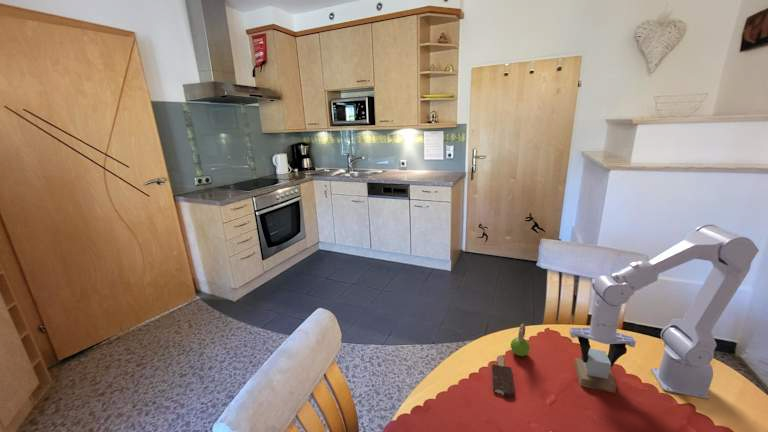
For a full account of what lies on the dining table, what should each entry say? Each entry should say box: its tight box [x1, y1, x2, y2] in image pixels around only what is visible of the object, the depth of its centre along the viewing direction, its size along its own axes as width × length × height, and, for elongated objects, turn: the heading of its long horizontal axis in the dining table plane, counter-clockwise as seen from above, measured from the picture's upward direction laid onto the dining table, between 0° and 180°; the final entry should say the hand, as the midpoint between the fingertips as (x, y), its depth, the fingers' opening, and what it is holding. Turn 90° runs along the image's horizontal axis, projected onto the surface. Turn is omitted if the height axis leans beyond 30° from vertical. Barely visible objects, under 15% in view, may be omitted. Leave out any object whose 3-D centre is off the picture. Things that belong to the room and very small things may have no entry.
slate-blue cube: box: [582, 348, 612, 379], centre depth 88 cm, size 5×5×5 cm
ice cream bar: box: [491, 355, 515, 399], centre depth 91 cm, size 5×2×15 cm
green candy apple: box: [510, 323, 531, 357], centre depth 97 cm, size 5×6×12 cm
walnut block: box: [574, 357, 617, 394], centre depth 89 cm, size 8×8×3 cm
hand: (596, 362), depth 88 cm, fingers open, 5 cm apart
